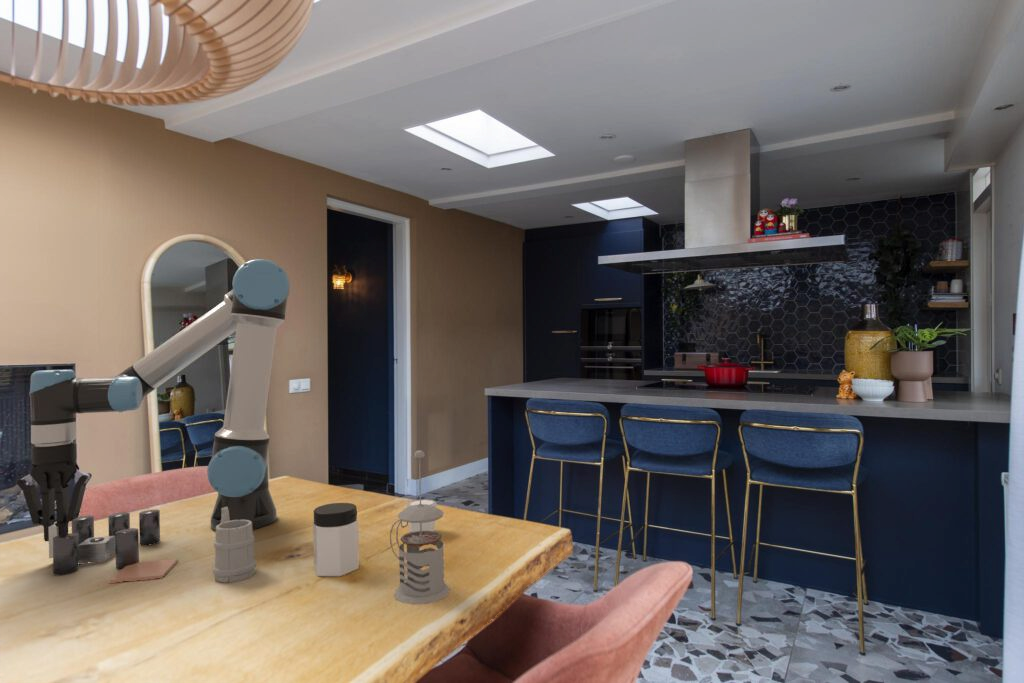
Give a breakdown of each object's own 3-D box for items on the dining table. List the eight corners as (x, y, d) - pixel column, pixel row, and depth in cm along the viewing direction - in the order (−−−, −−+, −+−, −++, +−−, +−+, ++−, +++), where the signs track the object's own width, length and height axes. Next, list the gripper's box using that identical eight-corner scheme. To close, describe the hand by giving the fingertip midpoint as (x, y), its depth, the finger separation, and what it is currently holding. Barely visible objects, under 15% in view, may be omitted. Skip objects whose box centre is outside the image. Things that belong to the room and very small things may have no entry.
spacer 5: (162, 539, 137) (162, 508, 137) (156, 544, 133) (155, 513, 133) (143, 540, 136) (143, 510, 136) (136, 546, 132) (136, 515, 132)
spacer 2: (97, 545, 133) (97, 514, 133) (89, 551, 129) (88, 519, 129) (77, 547, 132) (77, 516, 132) (68, 553, 128) (67, 521, 128)
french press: (425, 608, 97) (422, 457, 97) (374, 594, 103) (371, 452, 104) (461, 587, 106) (458, 447, 106) (412, 575, 112) (409, 443, 112)
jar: (362, 572, 114) (361, 510, 114) (318, 580, 110) (317, 516, 110) (353, 558, 122) (352, 500, 122) (312, 565, 118) (310, 505, 118)
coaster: (177, 561, 122) (177, 558, 122) (162, 578, 113) (162, 575, 113) (129, 566, 120) (129, 563, 120) (109, 583, 111) (109, 580, 111)
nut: (115, 554, 128) (115, 534, 128) (105, 562, 123) (105, 541, 123) (89, 556, 127) (88, 536, 127) (78, 564, 122) (77, 544, 122)
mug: (219, 586, 108) (218, 521, 108) (202, 569, 117) (200, 509, 117) (262, 575, 113) (261, 513, 114) (242, 559, 122) (241, 501, 122)
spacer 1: (82, 566, 120) (81, 532, 120) (72, 574, 116) (71, 538, 116) (59, 568, 119) (59, 534, 119) (49, 576, 115) (48, 540, 115)
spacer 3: (133, 542, 135) (132, 511, 135) (125, 547, 131) (125, 516, 131) (113, 543, 134) (113, 513, 134) (105, 549, 130) (105, 518, 130)
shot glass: (401, 535, 135) (400, 505, 135) (417, 527, 142) (416, 498, 142) (427, 538, 133) (427, 507, 133) (442, 529, 139) (441, 500, 139)
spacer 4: (142, 561, 123) (141, 527, 123) (134, 568, 119) (133, 533, 119) (120, 563, 122) (120, 529, 122) (112, 570, 118) (111, 535, 118)
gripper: (97, 438, 129) (100, 546, 129) (28, 442, 126) (31, 552, 126) (80, 444, 121) (83, 558, 121) (7, 448, 119) (9, 565, 118)
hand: (56, 555), depth 124 cm, fingers closed
